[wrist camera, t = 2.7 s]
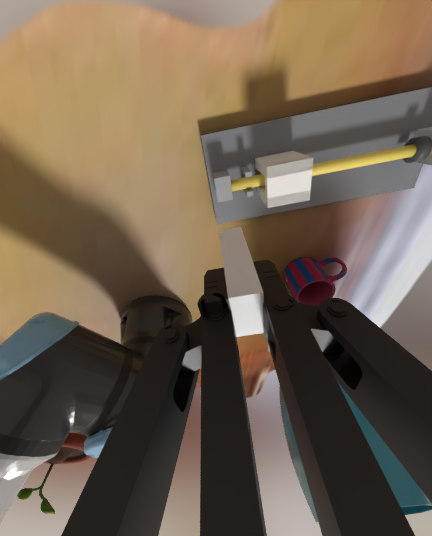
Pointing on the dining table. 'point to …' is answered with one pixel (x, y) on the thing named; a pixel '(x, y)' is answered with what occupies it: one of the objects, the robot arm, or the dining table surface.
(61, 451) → the potted plant
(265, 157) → the sleeve
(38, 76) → the dining table surface
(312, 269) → the mug
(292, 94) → the dining table surface
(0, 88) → the dining table surface
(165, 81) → the dining table surface
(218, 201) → the linear slide mechanism
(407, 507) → the vase
